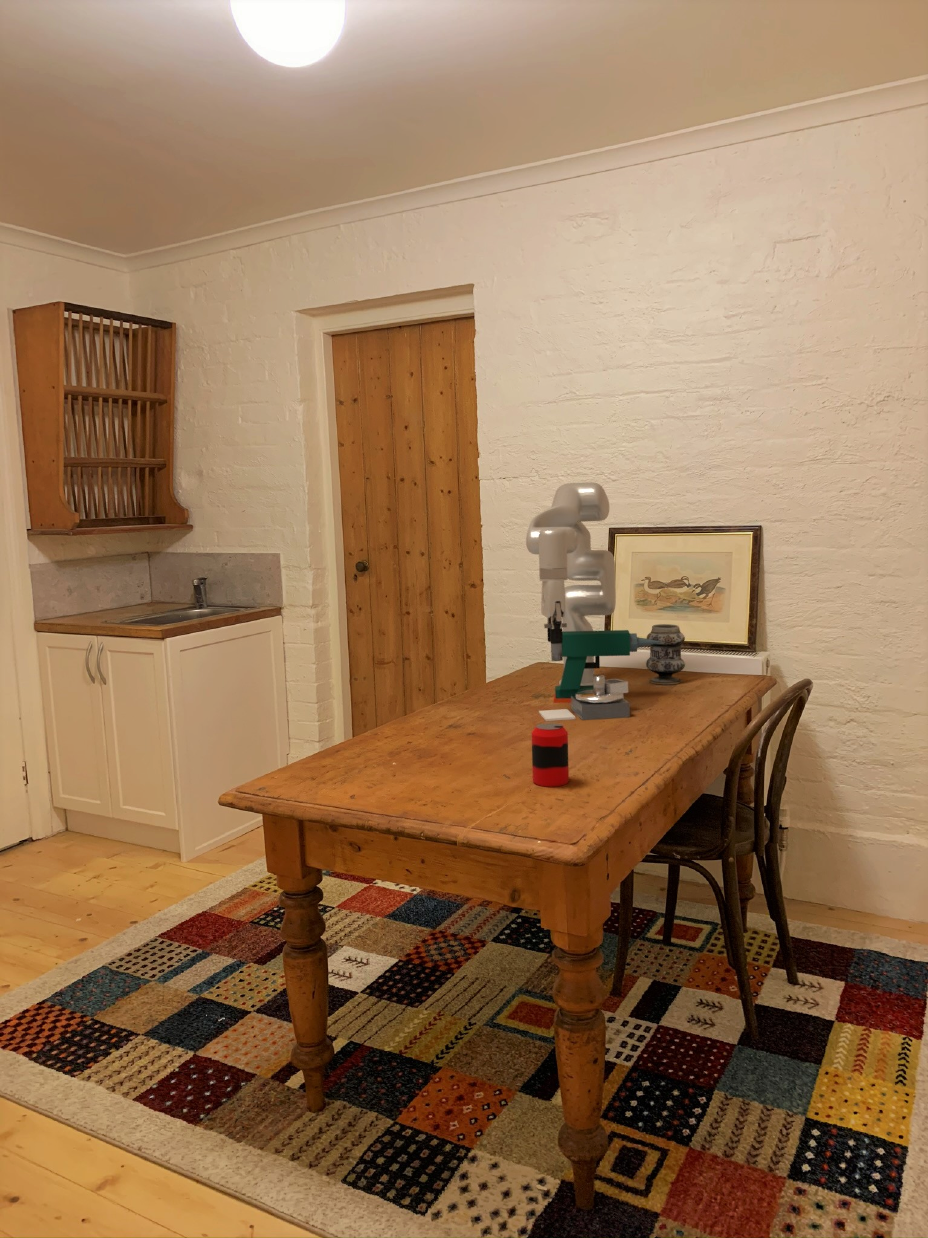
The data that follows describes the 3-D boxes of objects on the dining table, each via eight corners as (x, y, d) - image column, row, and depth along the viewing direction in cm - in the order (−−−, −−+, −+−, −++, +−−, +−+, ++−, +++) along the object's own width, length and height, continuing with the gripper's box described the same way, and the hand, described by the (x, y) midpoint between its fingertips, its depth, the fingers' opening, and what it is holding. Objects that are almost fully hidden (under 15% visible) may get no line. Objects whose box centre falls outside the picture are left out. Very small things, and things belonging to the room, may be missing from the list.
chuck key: (546, 659, 261) (544, 623, 259) (568, 658, 260) (566, 622, 259) (545, 661, 258) (544, 624, 256) (568, 660, 257) (566, 624, 256)
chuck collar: (566, 696, 264) (566, 675, 264) (607, 690, 271) (607, 669, 270) (593, 704, 253) (593, 682, 252) (636, 698, 259) (635, 676, 258)
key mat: (539, 713, 265) (538, 710, 265) (567, 711, 266) (567, 709, 266) (546, 721, 255) (546, 718, 255) (575, 719, 256) (575, 717, 256)
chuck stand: (571, 709, 268) (570, 695, 267) (616, 707, 269) (616, 693, 269) (582, 720, 255) (581, 705, 254) (629, 717, 256) (629, 702, 256)
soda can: (563, 788, 196) (562, 731, 195) (528, 785, 199) (526, 729, 197) (572, 778, 203) (571, 723, 202) (538, 775, 206) (536, 721, 204)
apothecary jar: (688, 685, 296) (688, 627, 294) (649, 686, 296) (649, 629, 294) (680, 677, 308) (680, 622, 306) (643, 679, 308) (642, 623, 306)
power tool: (662, 696, 281) (661, 629, 279) (664, 701, 275) (664, 632, 272) (553, 697, 285) (552, 631, 282) (553, 702, 278) (552, 634, 275)
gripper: (534, 573, 264) (535, 639, 266) (545, 577, 247) (547, 647, 250) (560, 572, 264) (562, 637, 267) (574, 576, 248) (575, 646, 251)
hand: (555, 641), depth 258 cm, fingers closed on chuck key, 3 cm apart
